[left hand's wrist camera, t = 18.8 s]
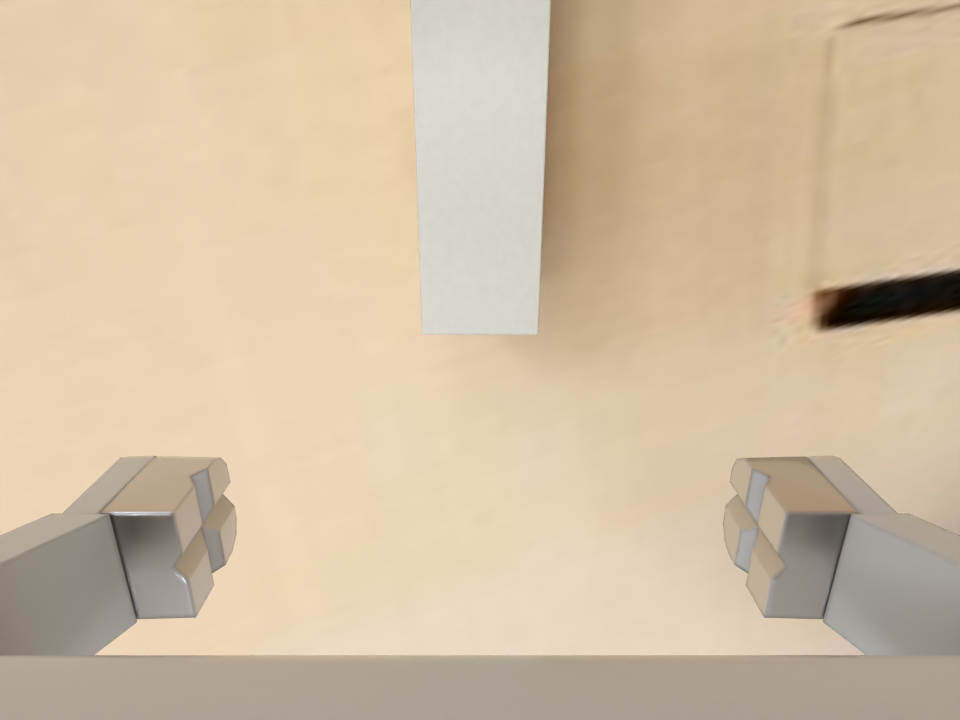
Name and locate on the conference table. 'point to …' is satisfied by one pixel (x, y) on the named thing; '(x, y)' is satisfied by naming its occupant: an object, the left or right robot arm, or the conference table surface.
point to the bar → (480, 162)
